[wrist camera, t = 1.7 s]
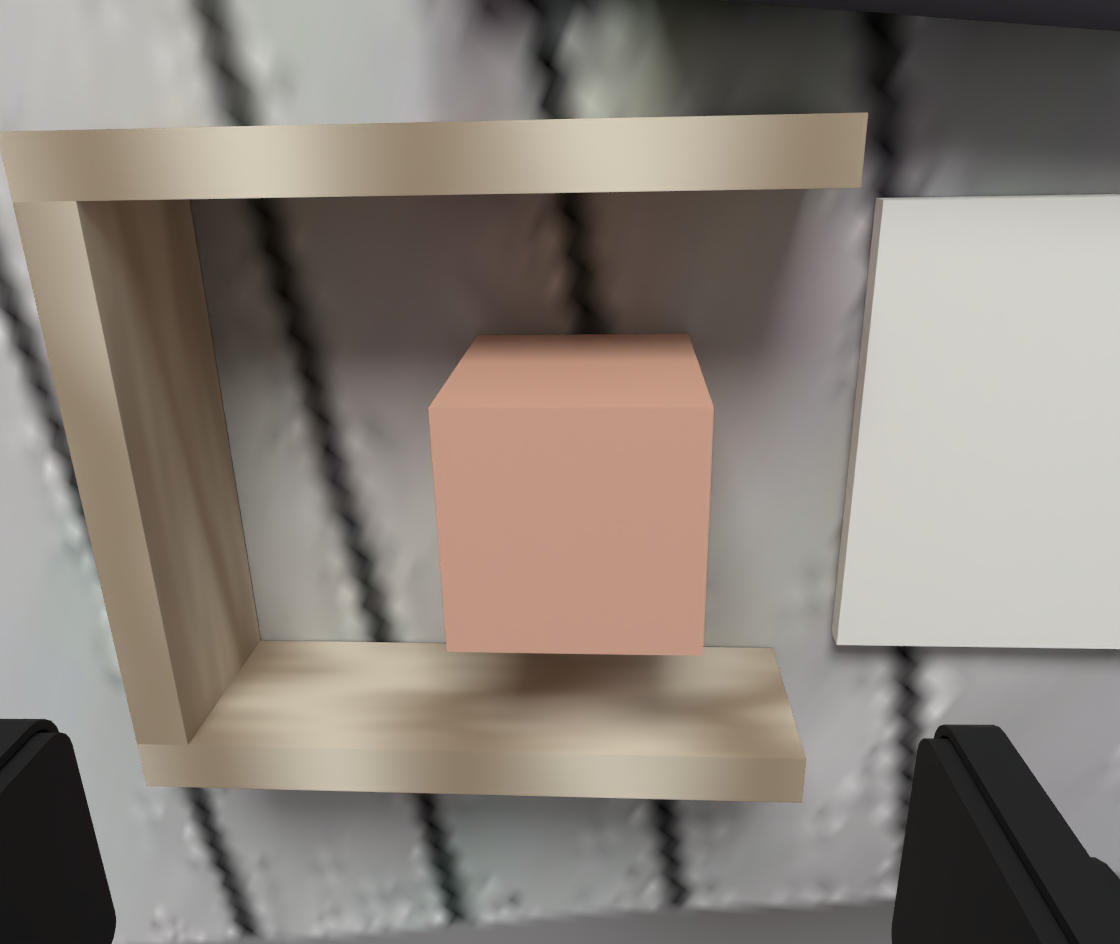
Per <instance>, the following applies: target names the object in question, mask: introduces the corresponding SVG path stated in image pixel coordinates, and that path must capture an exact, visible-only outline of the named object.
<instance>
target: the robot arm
mask: <svg viewBox="0 0 1120 944" xmlns="http://www.w3.org/2000/svg"><path fill="white" fill-rule="evenodd" d="M115 928H116V916H115V910H114V906H113V902H112V898H111V894H110V890H109V886H108V883H107V879H106V875H105V871H104V867H103V863H102V859H101V855H100V851H99V847H98V843H97V839H96V835H95V832H94V828H93V824H92V820H91V816H90V812H89V808H88V804H87V800H86V796H85V792H84V788H83V784H82V781H81V777H80V773H79V769H78V765H77V761H76V757H75V753H74V749H73V745H72V743H71V740H70V738H69V737H68V736H67V735H66V734H64V733H59V731H58V729H57V726H56V725H55V724H54V723H53V722H52V721H49V720H46V719H0V944H112V941H113V938H114V933H115ZM892 944H1120V879H1119V878H1118V876H1117V875H1116V874H1115V873H1114V872H1113V871H1112V870H1111V869H1110V867H1109V866H1108V865H1107V864H1106V863H1104V862H1102V861H1100V860H1099V859H1097V858H1095V857H1090V856H1089V855H1088V853H1087V852H1086V850H1085V849H1084V847H1083V846H1082V844H1081V843H1080V842H1079V840H1078V839H1077V837H1076V836H1075V834H1074V833H1073V831H1072V830H1071V828H1070V827H1069V826H1068V824H1067V823H1066V821H1065V820H1064V818H1063V817H1062V815H1061V814H1060V813H1059V811H1058V810H1057V808H1056V807H1055V805H1054V804H1053V802H1052V801H1051V799H1050V798H1049V797H1048V795H1047V794H1046V792H1045V791H1044V789H1043V788H1042V786H1041V785H1040V783H1039V782H1038V781H1037V779H1036V778H1035V776H1034V775H1033V773H1032V772H1031V770H1030V769H1029V768H1028V766H1027V765H1026V763H1025V762H1024V760H1023V759H1022V757H1021V756H1020V754H1019V753H1018V752H1017V750H1016V749H1015V747H1014V746H1013V744H1012V743H1011V741H1010V740H1009V738H1008V737H1007V736H1006V734H1005V733H1004V732H1003V731H1002V730H1001V728H1000V727H998V726H995V725H941V726H939V727H938V729H937V730H936V732H935V736H934V739H927V738H924V739H922V740H921V741H920V743H919V746H918V750H917V757H916V764H915V771H914V777H913V784H912V791H911V798H910V805H909V812H908V818H907V825H906V832H905V839H904V846H903V853H902V859H901V866H900V873H899V880H898V887H897V894H896V900H895V907H894V914H893V921H892Z"/></svg>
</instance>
